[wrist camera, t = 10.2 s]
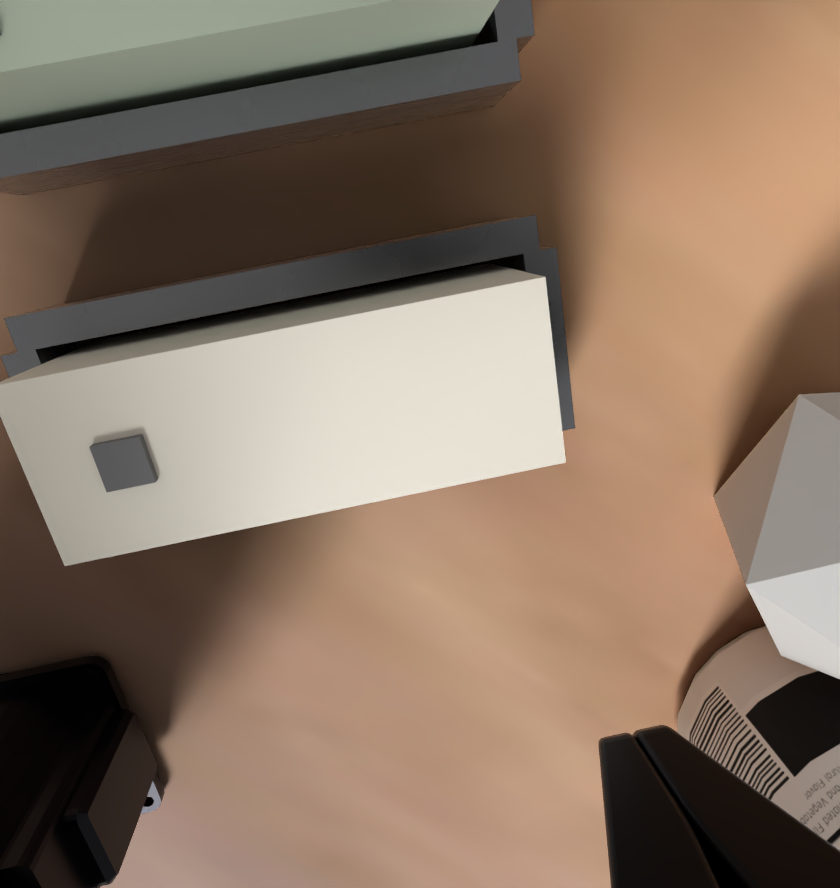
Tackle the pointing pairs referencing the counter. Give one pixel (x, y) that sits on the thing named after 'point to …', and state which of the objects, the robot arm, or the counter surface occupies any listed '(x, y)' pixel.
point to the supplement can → (771, 727)
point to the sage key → (201, 48)
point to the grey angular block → (792, 529)
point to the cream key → (288, 411)
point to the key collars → (268, 126)
